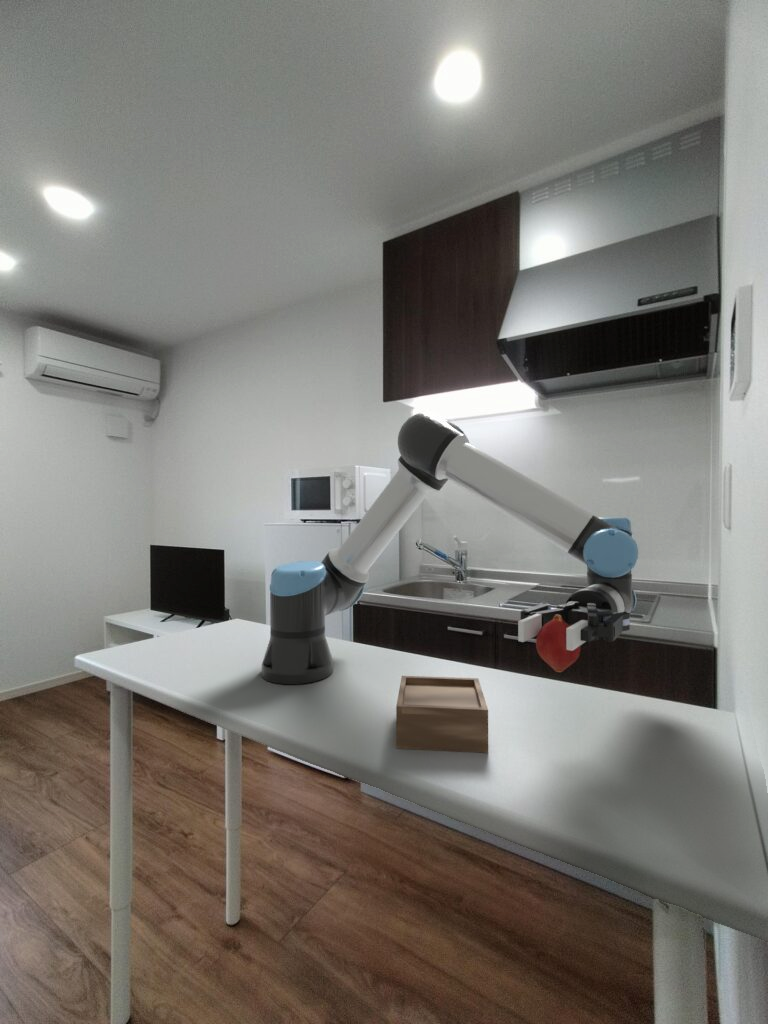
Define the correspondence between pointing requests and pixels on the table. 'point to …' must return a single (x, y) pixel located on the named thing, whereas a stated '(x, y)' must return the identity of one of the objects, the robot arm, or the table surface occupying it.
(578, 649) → the onion
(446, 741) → the walnut tray
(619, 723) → the table surface
